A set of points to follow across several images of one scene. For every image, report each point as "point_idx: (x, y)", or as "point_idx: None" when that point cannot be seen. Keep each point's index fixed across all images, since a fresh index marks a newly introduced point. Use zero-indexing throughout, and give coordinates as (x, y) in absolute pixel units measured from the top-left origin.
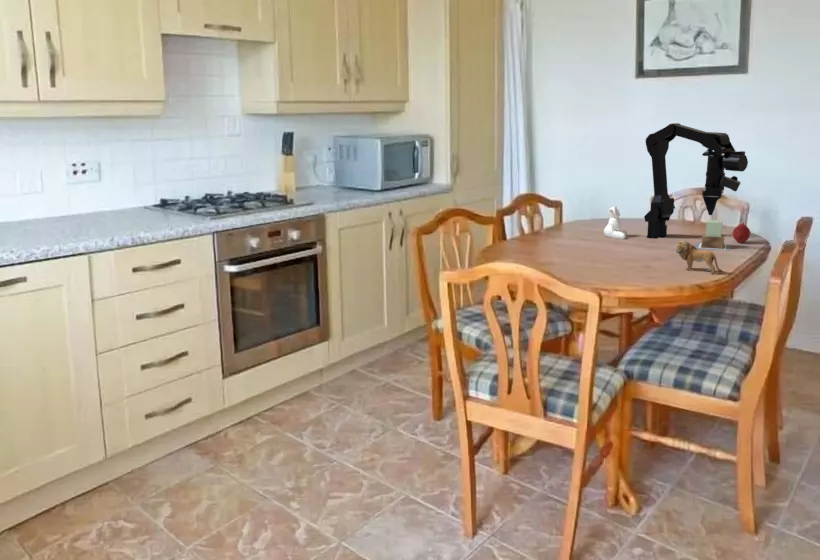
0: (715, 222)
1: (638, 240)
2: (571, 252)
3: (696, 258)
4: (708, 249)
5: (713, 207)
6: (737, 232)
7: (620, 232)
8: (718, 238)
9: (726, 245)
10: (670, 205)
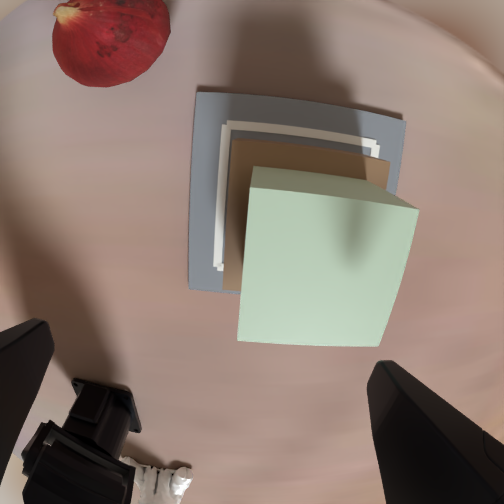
0: (389, 273)
1: (198, 448)
2: (382, 496)
3: None
4: None
5: (465, 428)
6: (145, 48)
7: (184, 487)
8: None
9: (252, 122)
10: (61, 494)
